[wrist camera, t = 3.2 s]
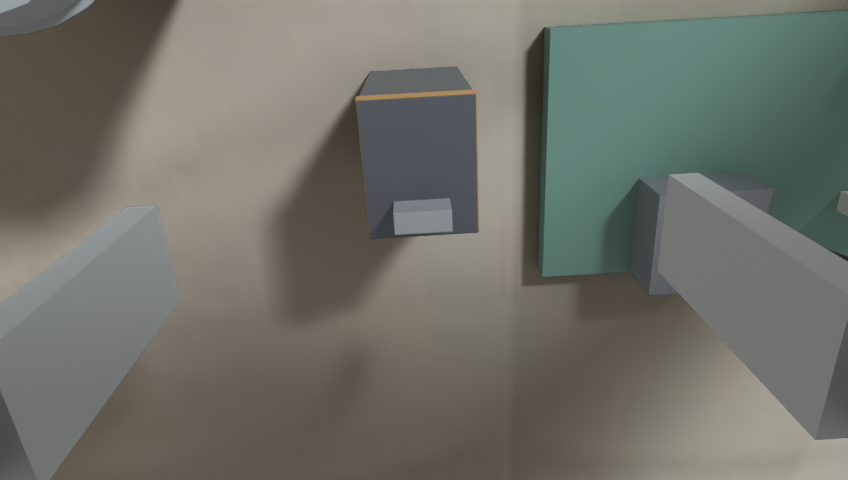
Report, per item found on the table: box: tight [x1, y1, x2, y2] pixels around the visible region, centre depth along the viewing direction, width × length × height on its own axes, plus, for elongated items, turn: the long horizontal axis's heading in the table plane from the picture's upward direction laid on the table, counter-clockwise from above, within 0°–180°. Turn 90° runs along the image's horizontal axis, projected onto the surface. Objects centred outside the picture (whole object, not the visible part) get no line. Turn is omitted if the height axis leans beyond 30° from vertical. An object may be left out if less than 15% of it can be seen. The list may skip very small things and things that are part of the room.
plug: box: [355, 67, 479, 239], centre depth 24 cm, size 5×4×9 cm
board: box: [538, 10, 848, 295], centre depth 27 cm, size 12×22×4 cm, turn 93°
